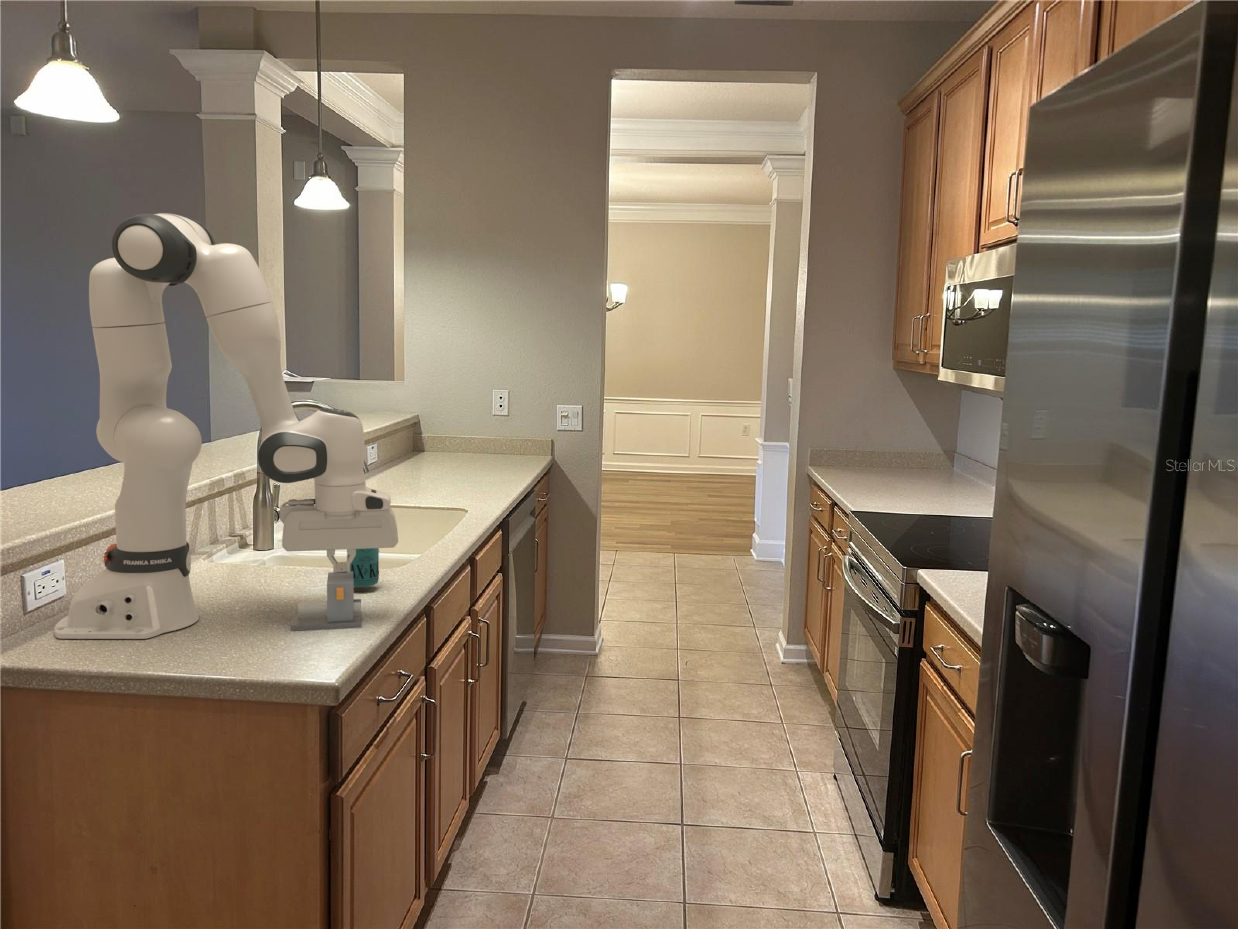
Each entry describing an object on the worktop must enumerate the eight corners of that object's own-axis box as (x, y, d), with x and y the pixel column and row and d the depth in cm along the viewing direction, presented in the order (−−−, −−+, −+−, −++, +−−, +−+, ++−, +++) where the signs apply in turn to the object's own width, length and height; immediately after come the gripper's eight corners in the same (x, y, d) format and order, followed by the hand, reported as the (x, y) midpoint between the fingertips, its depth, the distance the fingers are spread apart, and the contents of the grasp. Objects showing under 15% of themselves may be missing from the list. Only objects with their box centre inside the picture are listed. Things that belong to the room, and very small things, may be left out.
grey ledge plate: (290, 631, 161) (290, 611, 161) (294, 614, 171) (294, 596, 170) (361, 627, 165) (361, 608, 164) (361, 611, 174) (361, 593, 174)
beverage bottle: (340, 589, 189) (339, 493, 186) (370, 583, 193) (369, 490, 190) (356, 596, 184) (355, 498, 181) (386, 590, 189) (385, 494, 186)
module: (327, 622, 163) (326, 584, 162) (328, 608, 172) (328, 572, 171) (353, 621, 165) (353, 583, 164) (353, 607, 173) (353, 571, 172)
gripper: (277, 502, 159) (280, 579, 161) (398, 500, 165) (398, 574, 167) (280, 496, 165) (283, 570, 167) (397, 493, 171) (397, 565, 173)
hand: (341, 572), depth 167 cm, fingers closed
